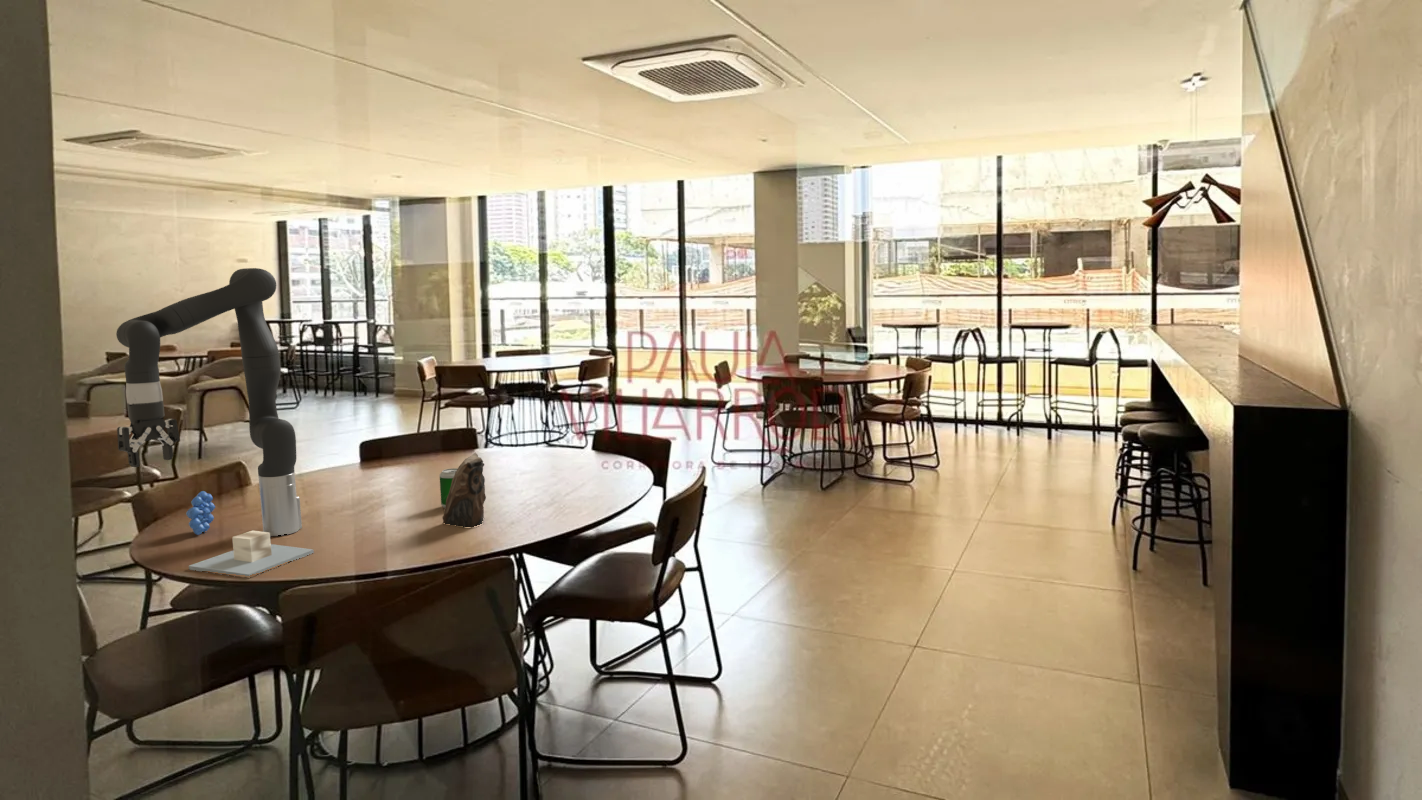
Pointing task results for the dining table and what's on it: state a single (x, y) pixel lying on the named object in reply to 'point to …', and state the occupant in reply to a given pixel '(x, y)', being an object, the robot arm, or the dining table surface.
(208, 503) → the grapes
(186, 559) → the dining table surface
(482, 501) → the owl
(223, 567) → the slate board
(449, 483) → the soda can
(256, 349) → the robot arm
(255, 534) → the maple block
